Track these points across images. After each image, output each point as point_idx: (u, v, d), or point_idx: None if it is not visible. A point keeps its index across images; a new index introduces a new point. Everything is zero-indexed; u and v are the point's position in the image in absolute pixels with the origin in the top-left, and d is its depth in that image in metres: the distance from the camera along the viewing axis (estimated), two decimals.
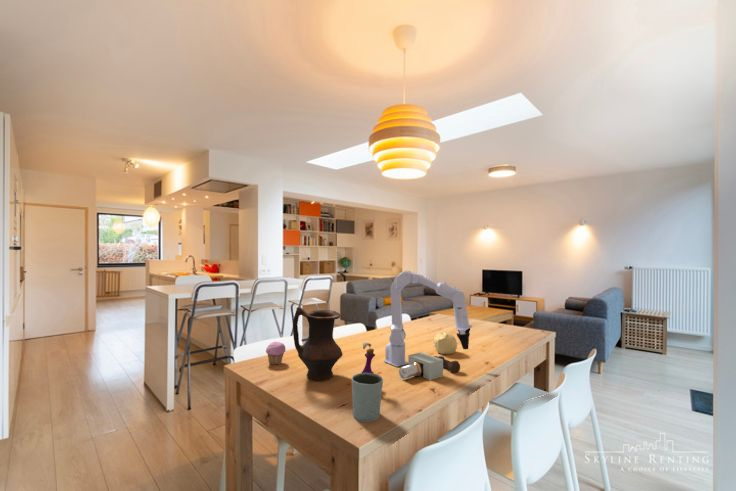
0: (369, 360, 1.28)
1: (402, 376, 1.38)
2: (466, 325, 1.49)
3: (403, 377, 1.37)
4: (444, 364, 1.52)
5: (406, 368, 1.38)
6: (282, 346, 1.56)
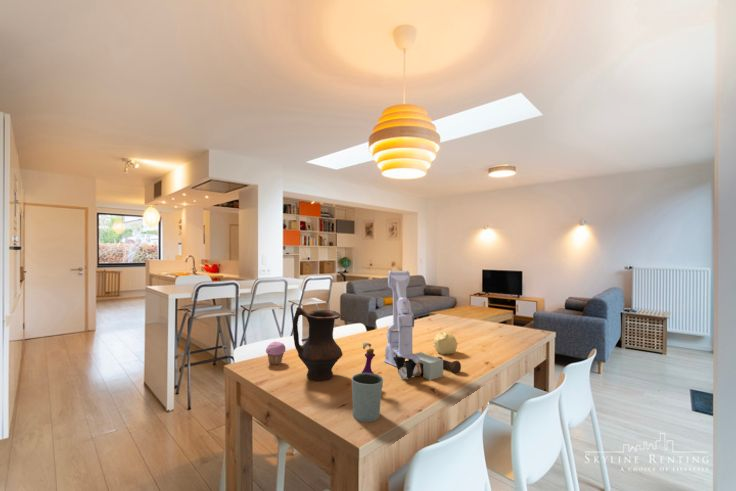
0: (369, 360, 1.28)
1: (402, 376, 1.38)
2: (398, 351, 1.40)
3: (403, 377, 1.37)
4: (444, 365, 1.51)
5: None
6: (282, 346, 1.56)
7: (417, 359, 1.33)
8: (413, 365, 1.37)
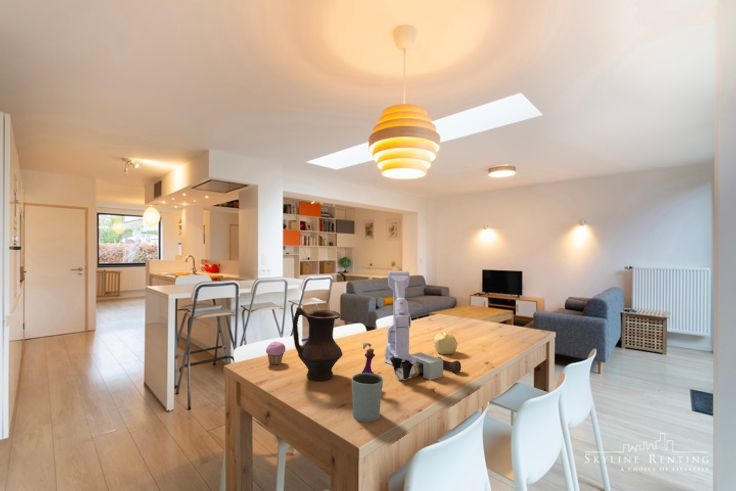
0: (369, 360, 1.28)
1: (399, 377, 1.37)
2: (395, 351, 1.38)
3: (400, 378, 1.36)
4: (444, 365, 1.50)
5: None
6: (282, 346, 1.56)
7: (414, 360, 1.32)
8: (410, 366, 1.35)
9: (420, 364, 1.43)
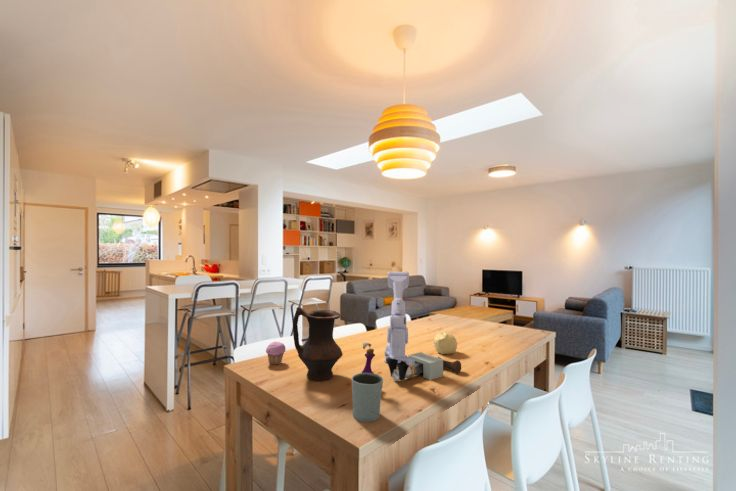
0: (369, 360, 1.28)
1: (395, 378, 1.36)
2: None
3: (396, 379, 1.35)
4: (445, 365, 1.50)
5: None
6: (282, 346, 1.56)
7: (409, 361, 1.30)
8: (406, 367, 1.34)
9: (416, 365, 1.41)
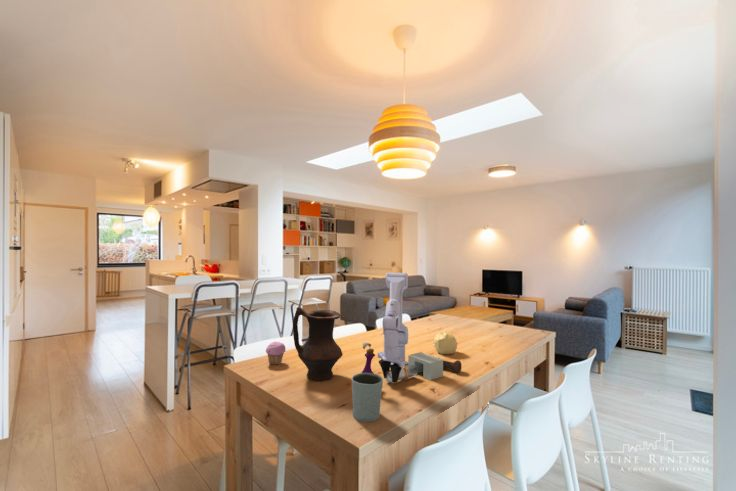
0: (369, 360, 1.28)
1: (388, 380, 1.33)
2: None
3: (389, 381, 1.33)
4: (445, 365, 1.50)
5: None
6: (282, 346, 1.56)
7: (402, 363, 1.28)
8: (398, 369, 1.32)
9: (410, 367, 1.39)
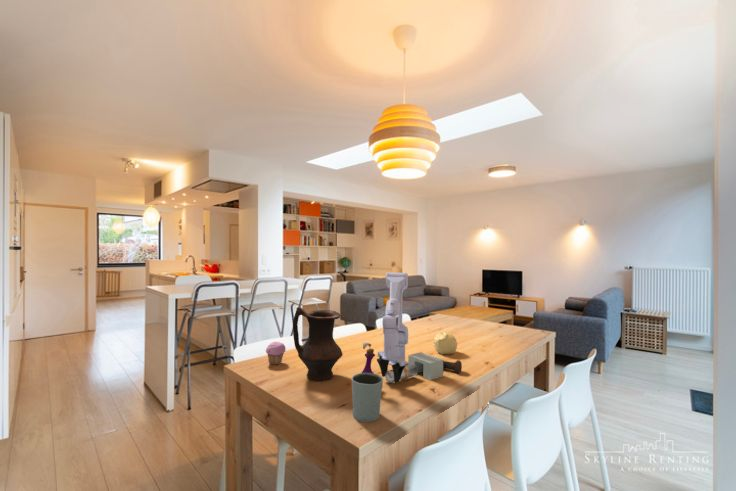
0: (369, 360, 1.28)
1: (388, 380, 1.33)
2: None
3: (389, 381, 1.33)
4: (446, 366, 1.49)
5: (392, 372, 1.33)
6: (282, 346, 1.56)
7: (402, 362, 1.28)
8: (401, 369, 1.31)
9: (410, 367, 1.39)
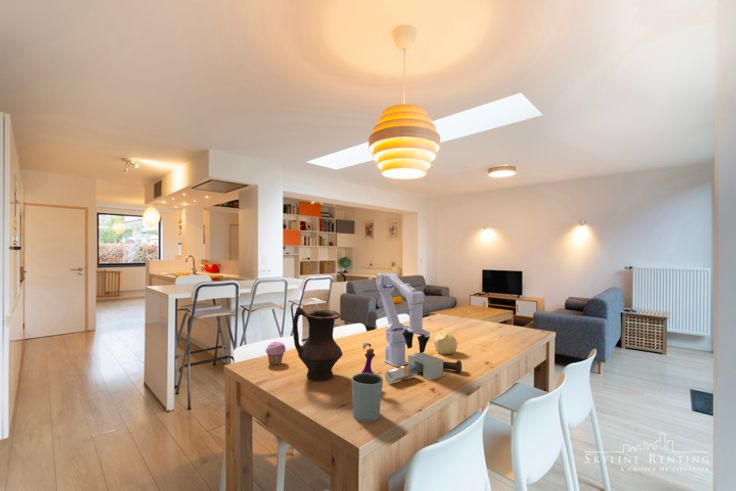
0: (369, 360, 1.28)
1: (388, 380, 1.33)
2: (409, 327, 1.48)
3: (389, 381, 1.33)
4: (446, 366, 1.49)
5: (392, 372, 1.33)
6: (282, 346, 1.56)
7: (427, 333, 1.41)
8: (425, 340, 1.44)
9: (410, 367, 1.39)
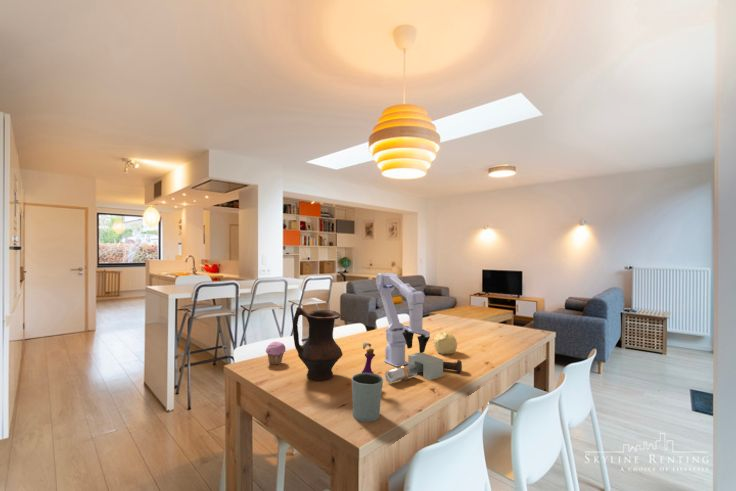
0: (369, 360, 1.28)
1: (388, 380, 1.33)
2: (409, 327, 1.48)
3: (389, 381, 1.33)
4: (447, 366, 1.49)
5: (392, 372, 1.33)
6: (282, 346, 1.56)
7: (427, 333, 1.41)
8: (425, 340, 1.44)
9: (410, 367, 1.39)
